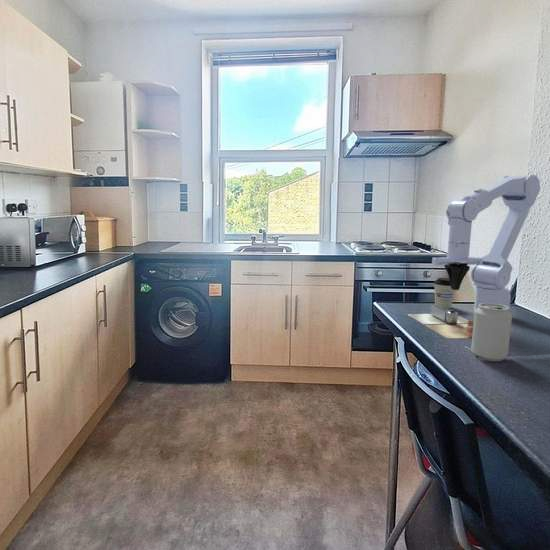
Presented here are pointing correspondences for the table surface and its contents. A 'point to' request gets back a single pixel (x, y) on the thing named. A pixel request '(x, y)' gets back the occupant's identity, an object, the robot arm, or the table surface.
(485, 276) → the robot arm
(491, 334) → the can
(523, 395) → the table surface
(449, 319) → the latch
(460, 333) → the board
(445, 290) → the coffee cup
